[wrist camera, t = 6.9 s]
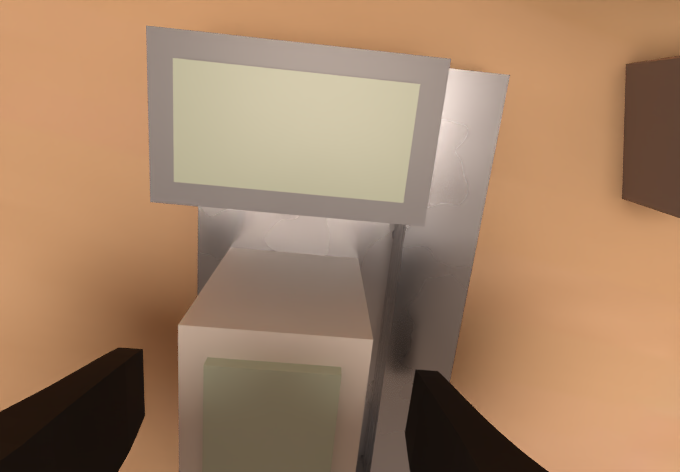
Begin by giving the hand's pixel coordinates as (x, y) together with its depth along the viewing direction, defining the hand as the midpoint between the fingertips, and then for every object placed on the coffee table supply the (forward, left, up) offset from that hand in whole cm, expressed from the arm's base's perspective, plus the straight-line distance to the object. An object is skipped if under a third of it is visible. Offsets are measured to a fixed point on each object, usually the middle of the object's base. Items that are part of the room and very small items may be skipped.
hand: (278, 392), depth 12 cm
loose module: (0, 0, -3) cm, 3 cm away
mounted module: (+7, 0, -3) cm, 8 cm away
